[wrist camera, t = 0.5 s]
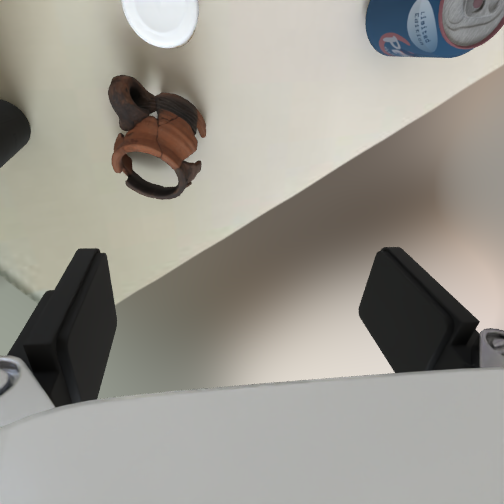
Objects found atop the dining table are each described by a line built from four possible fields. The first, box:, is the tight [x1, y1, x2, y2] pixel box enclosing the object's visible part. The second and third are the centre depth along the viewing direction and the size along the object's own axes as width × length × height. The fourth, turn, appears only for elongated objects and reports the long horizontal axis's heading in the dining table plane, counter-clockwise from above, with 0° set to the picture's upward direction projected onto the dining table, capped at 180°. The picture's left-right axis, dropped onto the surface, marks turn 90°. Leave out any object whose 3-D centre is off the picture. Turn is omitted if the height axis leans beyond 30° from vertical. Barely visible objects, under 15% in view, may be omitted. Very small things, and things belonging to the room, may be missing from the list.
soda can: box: [366, 0, 504, 58], centre depth 28 cm, size 7×7×12 cm
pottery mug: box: [108, 75, 206, 200], centre depth 33 cm, size 12×10×8 cm
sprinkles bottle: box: [121, 0, 199, 48], centre depth 25 cm, size 5×5×14 cm
